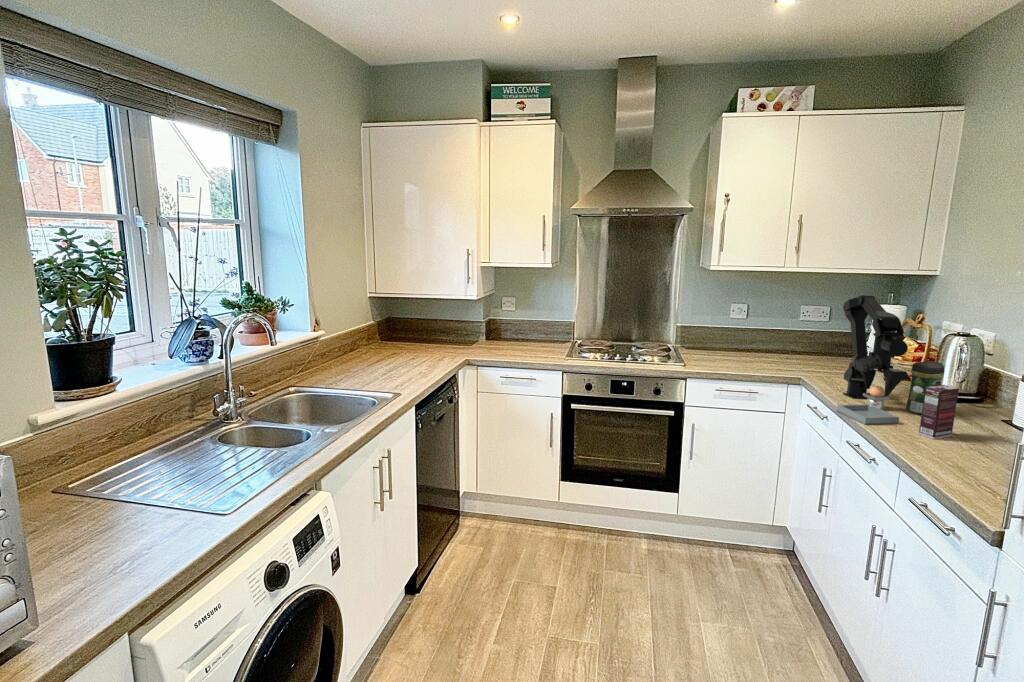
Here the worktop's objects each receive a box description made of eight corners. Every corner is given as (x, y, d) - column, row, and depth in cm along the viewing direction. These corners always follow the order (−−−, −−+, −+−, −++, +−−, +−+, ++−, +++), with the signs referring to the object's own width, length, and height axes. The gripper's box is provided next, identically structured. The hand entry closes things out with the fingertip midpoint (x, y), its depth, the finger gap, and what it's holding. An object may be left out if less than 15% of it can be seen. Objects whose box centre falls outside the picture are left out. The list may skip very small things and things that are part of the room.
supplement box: (935, 431, 175) (943, 384, 172) (952, 437, 171) (960, 388, 168) (917, 434, 172) (924, 386, 169) (933, 440, 168) (941, 390, 165)
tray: (836, 411, 195) (837, 405, 194) (867, 411, 196) (868, 404, 195) (864, 424, 181) (865, 417, 180) (898, 424, 182) (899, 417, 182)
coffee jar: (919, 407, 201) (927, 358, 197) (942, 414, 193) (950, 363, 190) (900, 409, 198) (908, 360, 194) (923, 416, 190) (931, 365, 187)
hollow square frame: (861, 405, 202) (863, 393, 201) (876, 405, 202) (877, 392, 201) (873, 410, 196) (874, 397, 195) (888, 410, 196) (890, 397, 196)
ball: (866, 396, 200) (867, 384, 200) (877, 395, 201) (878, 384, 200) (874, 399, 196) (876, 387, 195) (886, 399, 196) (888, 387, 196)
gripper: (843, 345, 204) (838, 385, 206) (881, 356, 185) (875, 400, 188) (871, 345, 205) (865, 385, 207) (911, 356, 186) (904, 399, 189)
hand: (876, 392), depth 198 cm, fingers open, 9 cm apart
